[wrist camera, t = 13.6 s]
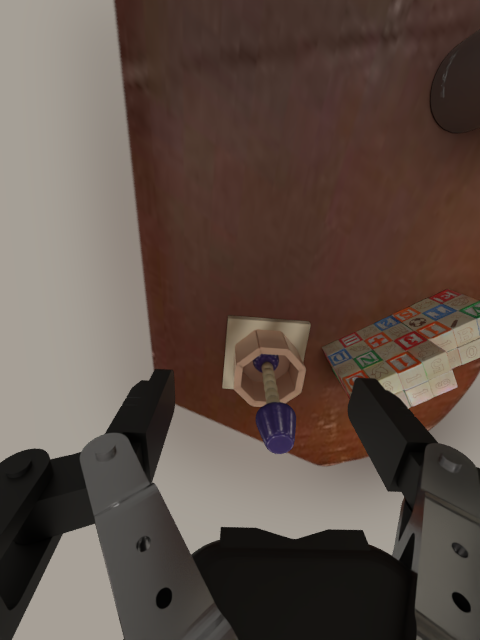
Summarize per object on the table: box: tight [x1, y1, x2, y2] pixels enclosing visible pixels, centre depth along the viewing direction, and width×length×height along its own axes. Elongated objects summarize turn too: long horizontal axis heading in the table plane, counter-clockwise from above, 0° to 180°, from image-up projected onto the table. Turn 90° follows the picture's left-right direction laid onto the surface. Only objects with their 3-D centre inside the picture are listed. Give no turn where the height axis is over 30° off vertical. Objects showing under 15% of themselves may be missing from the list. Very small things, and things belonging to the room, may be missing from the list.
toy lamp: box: [253, 354, 296, 454], centre depth 35 cm, size 5×5×17 cm
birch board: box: [222, 315, 311, 389], centre depth 44 cm, size 13×13×1 cm
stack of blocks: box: [322, 289, 480, 409], centre depth 39 cm, size 21×6×12 cm, turn 119°
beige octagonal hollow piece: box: [233, 329, 306, 407], centre depth 41 cm, size 10×10×6 cm
